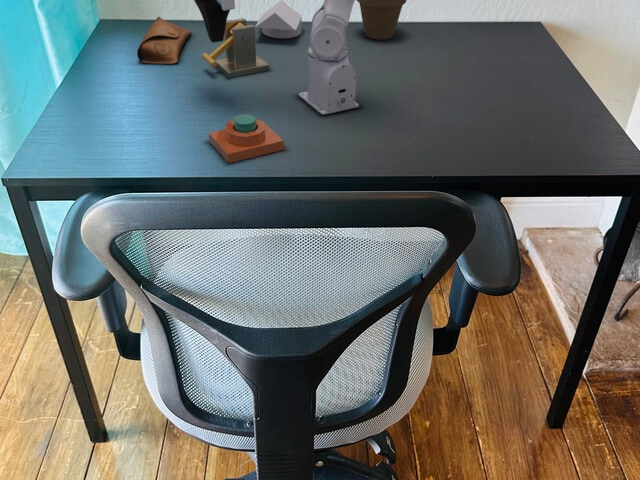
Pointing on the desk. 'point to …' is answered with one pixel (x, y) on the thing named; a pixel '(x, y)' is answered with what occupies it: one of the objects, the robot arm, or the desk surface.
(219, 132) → the button block
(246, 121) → the button
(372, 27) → the flower pot
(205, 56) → the tap lever
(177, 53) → the sunglasses case
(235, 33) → the bracket
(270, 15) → the wedge on round base
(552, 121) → the desk surface
